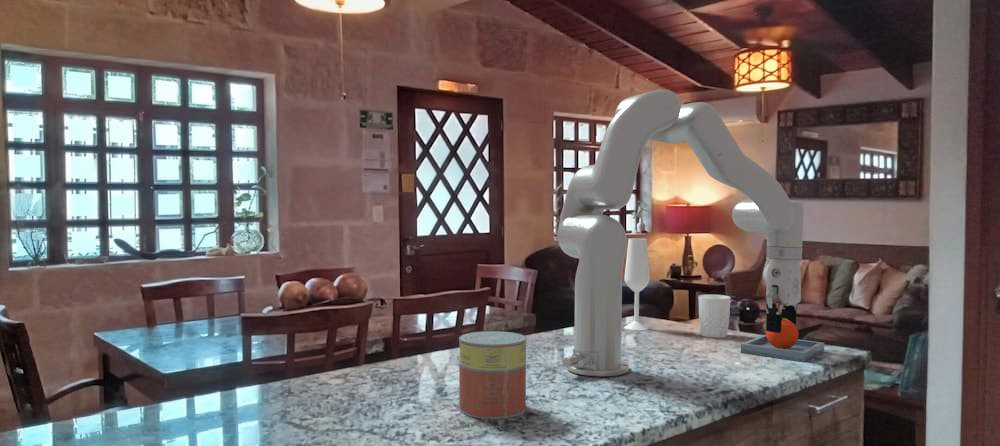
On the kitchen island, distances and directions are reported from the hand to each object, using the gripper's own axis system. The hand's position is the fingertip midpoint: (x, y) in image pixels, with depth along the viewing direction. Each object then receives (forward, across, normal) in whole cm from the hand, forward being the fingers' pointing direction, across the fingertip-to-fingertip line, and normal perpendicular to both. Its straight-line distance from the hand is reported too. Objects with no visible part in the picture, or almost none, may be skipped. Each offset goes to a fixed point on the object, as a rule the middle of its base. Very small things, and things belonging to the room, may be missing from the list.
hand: (781, 329), depth 163 cm
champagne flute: (+6, +5, +40) cm, 40 cm away
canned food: (+7, -75, +22) cm, 79 cm away
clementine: (+5, +1, 0) cm, 5 cm away
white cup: (+6, +9, +20) cm, 22 cm away
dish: (+5, +1, 0) cm, 5 cm away
